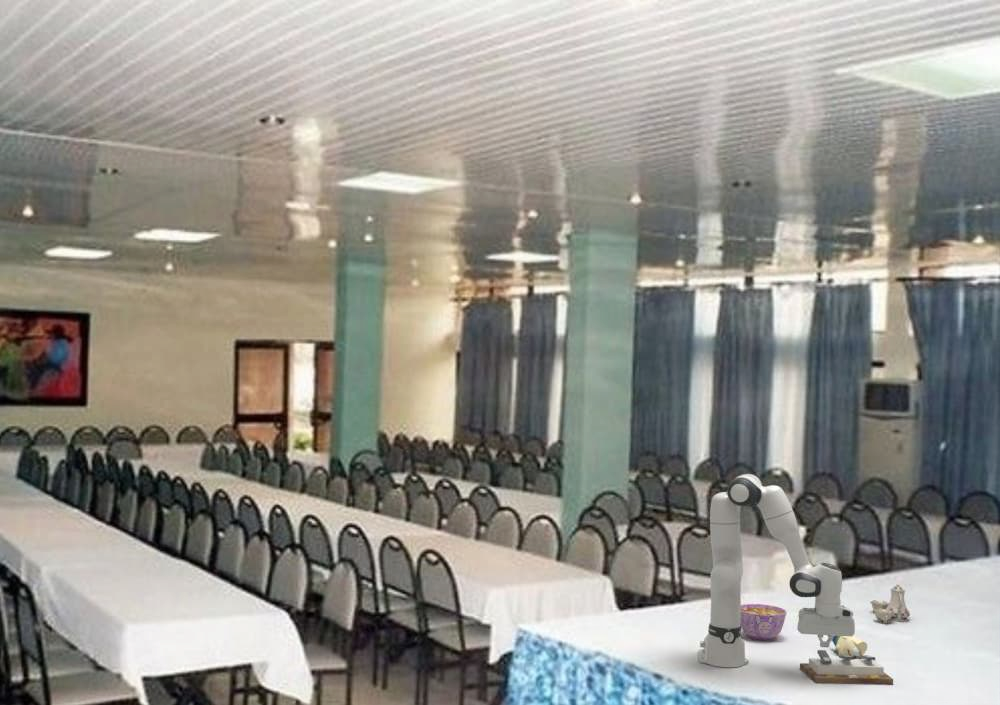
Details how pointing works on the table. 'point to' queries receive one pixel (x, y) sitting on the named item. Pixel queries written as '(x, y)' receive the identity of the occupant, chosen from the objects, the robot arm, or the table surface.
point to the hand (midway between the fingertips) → (824, 646)
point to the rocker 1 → (824, 656)
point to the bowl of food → (762, 620)
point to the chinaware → (892, 607)
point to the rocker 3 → (867, 657)
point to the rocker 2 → (846, 657)
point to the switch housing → (846, 667)
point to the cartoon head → (849, 645)
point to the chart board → (845, 677)
